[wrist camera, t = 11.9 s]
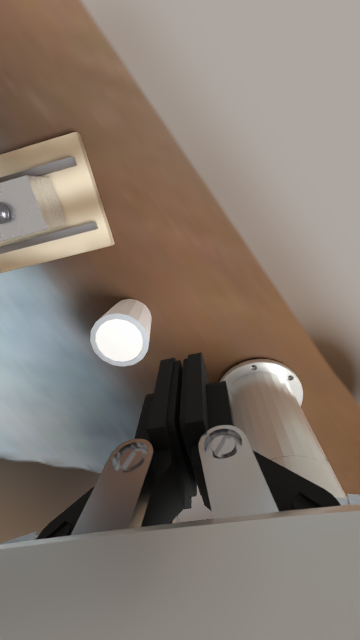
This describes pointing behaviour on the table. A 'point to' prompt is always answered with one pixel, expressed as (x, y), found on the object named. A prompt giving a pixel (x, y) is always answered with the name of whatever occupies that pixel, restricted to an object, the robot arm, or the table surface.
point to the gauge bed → (74, 197)
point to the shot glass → (122, 333)
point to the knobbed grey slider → (28, 207)
